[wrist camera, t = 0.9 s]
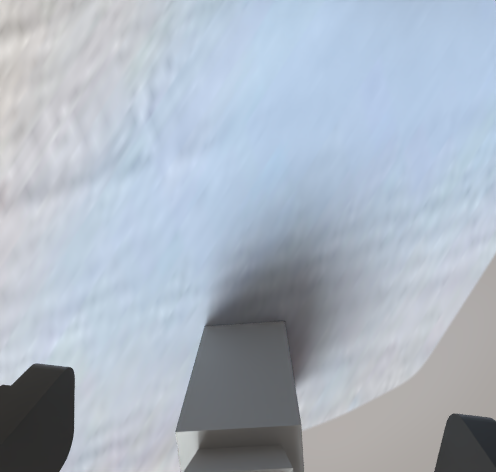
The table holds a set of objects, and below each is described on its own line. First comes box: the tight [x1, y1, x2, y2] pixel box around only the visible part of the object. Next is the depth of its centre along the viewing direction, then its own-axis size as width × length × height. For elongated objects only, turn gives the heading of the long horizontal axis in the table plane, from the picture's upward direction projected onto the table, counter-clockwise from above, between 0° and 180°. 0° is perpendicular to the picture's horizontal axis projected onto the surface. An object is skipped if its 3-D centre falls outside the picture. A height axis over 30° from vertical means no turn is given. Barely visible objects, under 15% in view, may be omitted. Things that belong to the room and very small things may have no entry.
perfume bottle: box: [175, 321, 304, 472], centre depth 28 cm, size 7×7×18 cm
